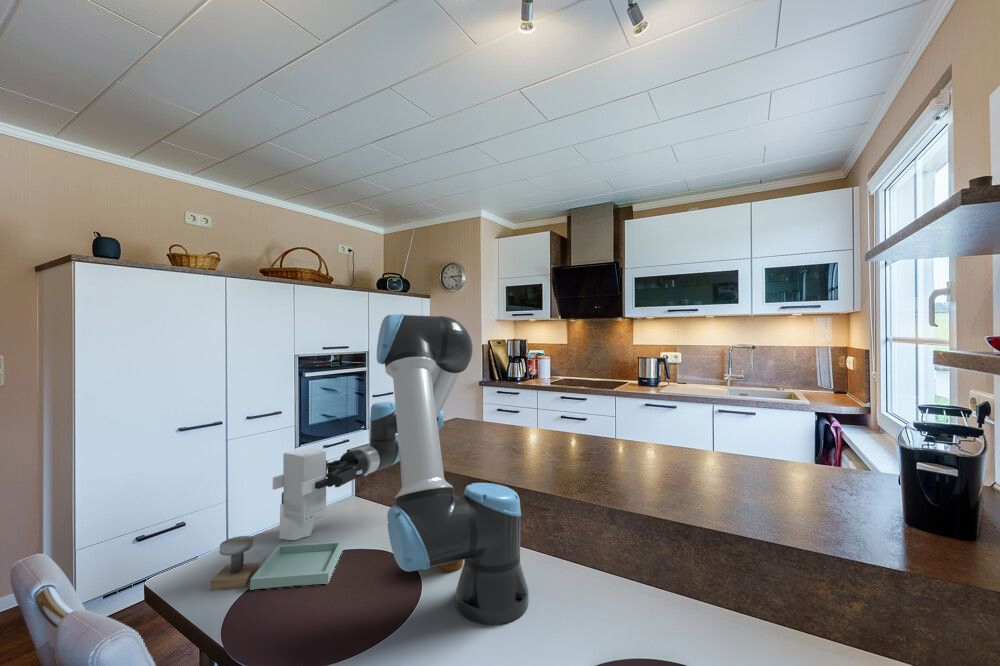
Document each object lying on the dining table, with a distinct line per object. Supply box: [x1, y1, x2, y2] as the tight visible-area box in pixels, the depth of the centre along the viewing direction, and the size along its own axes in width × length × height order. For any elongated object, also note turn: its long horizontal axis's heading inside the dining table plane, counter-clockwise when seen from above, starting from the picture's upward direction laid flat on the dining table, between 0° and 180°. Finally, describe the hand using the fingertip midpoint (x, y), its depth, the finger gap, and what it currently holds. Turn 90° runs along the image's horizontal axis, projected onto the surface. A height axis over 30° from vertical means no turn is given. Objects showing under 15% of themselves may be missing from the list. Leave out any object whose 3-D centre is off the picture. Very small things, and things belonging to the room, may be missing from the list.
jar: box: [278, 491, 314, 542], centre depth 116 cm, size 9×8×12 cm
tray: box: [249, 540, 344, 591], centre depth 98 cm, size 16×16×2 cm
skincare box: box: [282, 447, 327, 524], centre depth 99 cm, size 8×7×16 cm
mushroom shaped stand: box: [209, 535, 260, 591], centre depth 93 cm, size 7×7×8 cm
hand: (287, 486), depth 95 cm, fingers closed on skincare box, 9 cm apart
